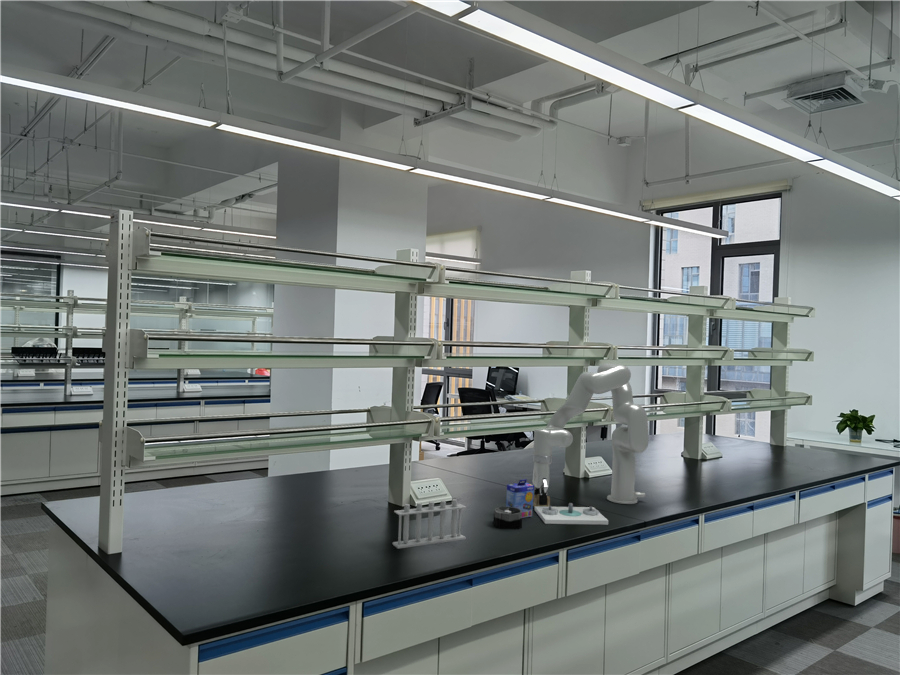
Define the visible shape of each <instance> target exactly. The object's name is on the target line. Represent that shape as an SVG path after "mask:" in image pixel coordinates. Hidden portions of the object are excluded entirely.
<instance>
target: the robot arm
mask: <svg viewBox="0 0 900 675" xmlns="http://www.w3.org/2000/svg"><path fill="white" fill-rule="evenodd" d="M631 376H632V373H631V370H630V369H629V367H627V366H626V365H623V364H618V363H612V362H611V363H607V362H604V363H601V364H600V365H599V366H598V367H597V371H596V372H589V371H586V372H582V373H581V374H580V375H579V376H578V378H577V380H576V382H575V383H574V386H573V387H572V390H571V391H570V394H569V396H568V397H567V400H566V401H565V402H564V403H563V404H562V405H561V406H560V407H559V408H558V409H557V410H556V411H555V412H554V413H553V415H552V416H551V417H550V419H549V420H548V423H547V425H546V427H543V428H541V427H540V428H537V429H543V430H536V429H534V434H533V450H532V451H533V452H532V454H533V456H532V462H533V472H532V482H531V484H532V485H534V495H538V494H540V495H539V505H547V496H548V488H549V487H550V465H551V464H552V463H553V462H552V461H553V460H552V458H553V448H554V447H555V448H562V449H563V448H564V449H565V448H568V447H570V446H571V445H572V443H573V442H574V437H573V434H572V433H571V431H569V430H568V429H565V426H566V424H568V422H569V421H570V420H571V419H573V418H576V417H577V416H579V415H582V414H583V413H584V412H585V411H586V410H587V408H588V405H589V404H590V402H591V399H592V398H593V396H594V395H602V394H607V393H609V392H610V393H611V397H612V401H611V402H612V415H613V419H614V421H615V422H617V423H619V424H620V425H624V426H619V427H616V428H615V429H614V430H613V431H612V433H611V437H610V438H611V440H610V441H611V447H612V464H611V465H612V466H611V467H612V468H611V487H610V488H611V490H610V494H608V495H607V497H606V499H607V500H608V501H609V502H611V503H615V504H622V505H634V504H637V503H638V500H639V499H638V498H645V497H646V492H640V491H636V490H635V482H636V454H641V453H644V452H645V451H646V450H647V448H648V446H649V441H650V439H649V438H650V437H649V422H648V421H649V420H648V418H649V417H648V414H647V411H646V409H645V408H644V407H643V406H641V405H640V404H637V403H635V402H634V399H633V398H634V397H633V390H632V386H631V383H630V380H631ZM546 428H554V429H546Z"/></svg>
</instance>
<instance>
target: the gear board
mask: <svg viewBox="0 0 900 675" xmlns="http://www.w3.org/2000/svg"><path fill="white" fill-rule="evenodd" d="M534 512H536V514H537V515H538V517H539V518H540V519H541V520H542V522H543V523H544V524H546V525H547V524H548V525H551V524H553V525H607V526H608V525H609V519H608V518H606V517H605V516H604V515H603V514H602V513H601V512H600V511H599V510H598V509H596V507H593V506H591V505H590V506H589V507H588V506H587V507H586V506H574V504H573V503H572V502H569V503H568V506H552V505H550V506H549V507H545V506H535V507H534Z"/></svg>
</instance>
